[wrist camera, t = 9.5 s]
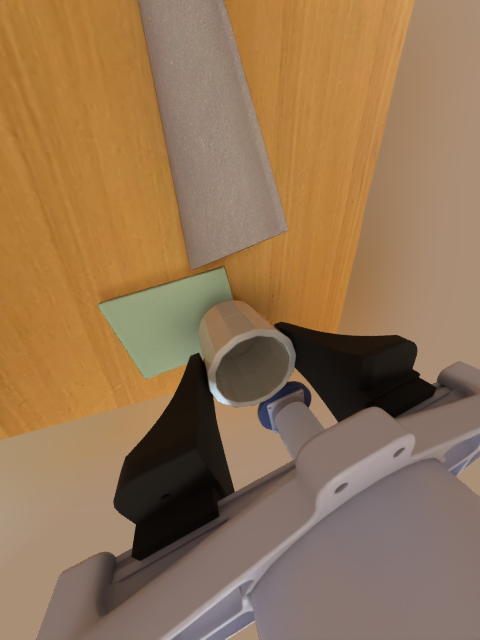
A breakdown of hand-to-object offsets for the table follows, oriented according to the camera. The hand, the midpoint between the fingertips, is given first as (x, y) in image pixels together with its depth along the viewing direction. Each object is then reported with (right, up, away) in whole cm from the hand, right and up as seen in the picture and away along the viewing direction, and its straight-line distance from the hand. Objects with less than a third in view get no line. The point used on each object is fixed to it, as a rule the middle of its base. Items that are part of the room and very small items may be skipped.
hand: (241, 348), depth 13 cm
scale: (-7, +2, +8) cm, 11 cm away
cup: (-1, +1, +3) cm, 3 cm away
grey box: (-6, +20, +1) cm, 21 cm away
